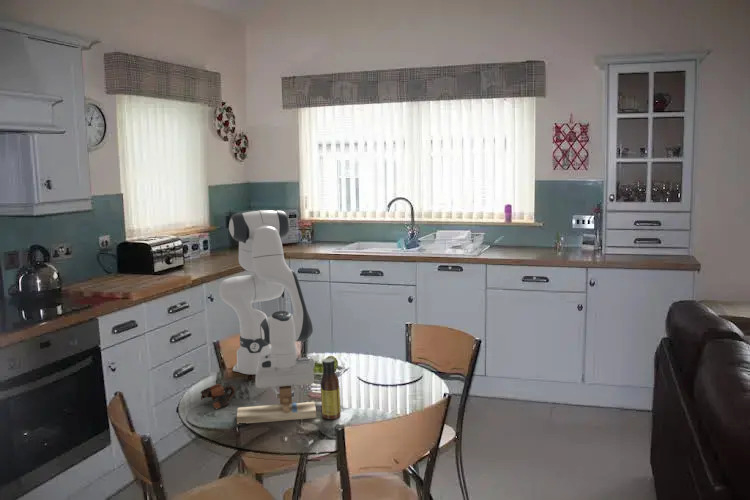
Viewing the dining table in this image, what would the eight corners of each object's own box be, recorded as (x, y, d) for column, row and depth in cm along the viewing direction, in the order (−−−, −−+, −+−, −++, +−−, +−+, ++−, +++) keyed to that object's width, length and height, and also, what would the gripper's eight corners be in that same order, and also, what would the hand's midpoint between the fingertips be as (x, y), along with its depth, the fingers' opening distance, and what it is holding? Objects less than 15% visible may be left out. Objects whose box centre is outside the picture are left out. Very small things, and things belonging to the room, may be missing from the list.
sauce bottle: (331, 411, 232) (329, 355, 229) (344, 415, 228) (342, 358, 225) (317, 417, 227) (315, 360, 224) (331, 422, 223) (329, 364, 220)
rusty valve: (207, 413, 234) (198, 391, 236) (206, 415, 243) (198, 394, 244) (240, 398, 239) (231, 377, 240) (238, 401, 247) (229, 380, 249)
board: (238, 414, 231) (237, 407, 231) (314, 408, 235) (314, 401, 234) (237, 424, 223) (236, 416, 223) (316, 417, 227) (316, 410, 227)
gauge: (280, 403, 238) (279, 382, 237) (291, 402, 239) (290, 381, 238) (280, 420, 224) (279, 398, 222) (292, 419, 224) (291, 397, 223)
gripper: (313, 354, 238) (315, 391, 240) (254, 358, 235) (256, 396, 237) (314, 359, 232) (316, 398, 234) (253, 363, 229) (256, 403, 231)
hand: (285, 397), depth 236 cm, fingers closed on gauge, 4 cm apart
